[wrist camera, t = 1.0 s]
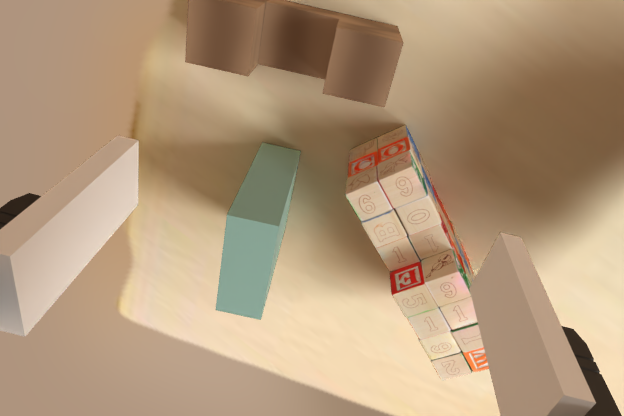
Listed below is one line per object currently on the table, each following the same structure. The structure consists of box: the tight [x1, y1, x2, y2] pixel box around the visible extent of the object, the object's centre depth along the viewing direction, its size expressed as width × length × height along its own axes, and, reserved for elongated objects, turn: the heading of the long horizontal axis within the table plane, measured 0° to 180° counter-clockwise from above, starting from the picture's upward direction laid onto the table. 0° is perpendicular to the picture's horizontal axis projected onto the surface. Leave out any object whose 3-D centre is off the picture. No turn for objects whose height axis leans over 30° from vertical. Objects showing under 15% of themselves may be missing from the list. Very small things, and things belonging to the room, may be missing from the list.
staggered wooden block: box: [185, 0, 403, 107], centre depth 38 cm, size 16×5×7 cm, turn 79°
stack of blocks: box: [345, 125, 489, 380], centre depth 44 cm, size 21×6×12 cm, turn 29°
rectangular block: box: [216, 142, 301, 320], centre depth 43 cm, size 4×10×14 cm, turn 169°
